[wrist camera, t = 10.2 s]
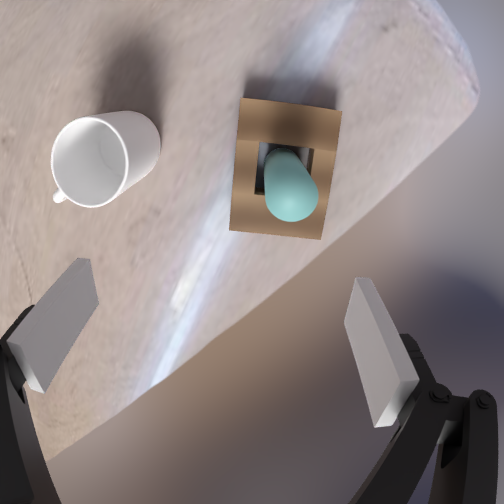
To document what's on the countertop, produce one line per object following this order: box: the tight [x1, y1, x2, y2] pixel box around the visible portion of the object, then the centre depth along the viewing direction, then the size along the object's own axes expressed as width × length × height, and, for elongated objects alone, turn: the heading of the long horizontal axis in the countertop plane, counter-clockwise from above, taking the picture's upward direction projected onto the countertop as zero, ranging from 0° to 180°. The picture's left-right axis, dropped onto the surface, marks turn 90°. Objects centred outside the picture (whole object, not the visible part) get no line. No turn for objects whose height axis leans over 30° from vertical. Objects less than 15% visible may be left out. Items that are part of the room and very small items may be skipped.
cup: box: [51, 111, 161, 207], centre depth 30 cm, size 8×12×10 cm
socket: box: [229, 98, 342, 240], centre depth 33 cm, size 14×10×3 cm
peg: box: [264, 148, 318, 222], centre depth 29 cm, size 4×4×12 cm
